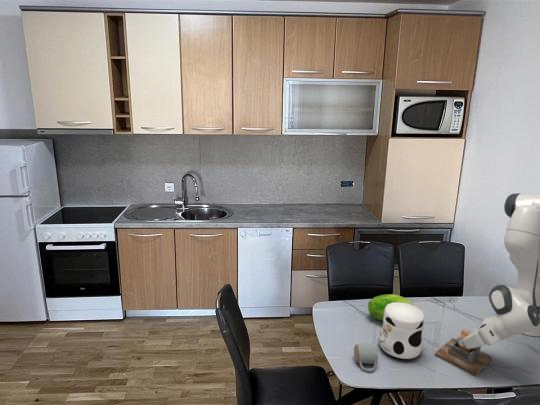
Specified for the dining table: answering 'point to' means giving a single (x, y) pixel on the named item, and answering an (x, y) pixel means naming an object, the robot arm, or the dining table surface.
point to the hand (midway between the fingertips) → (464, 338)
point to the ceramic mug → (366, 354)
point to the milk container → (402, 330)
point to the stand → (463, 357)
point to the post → (463, 335)
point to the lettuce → (383, 304)
